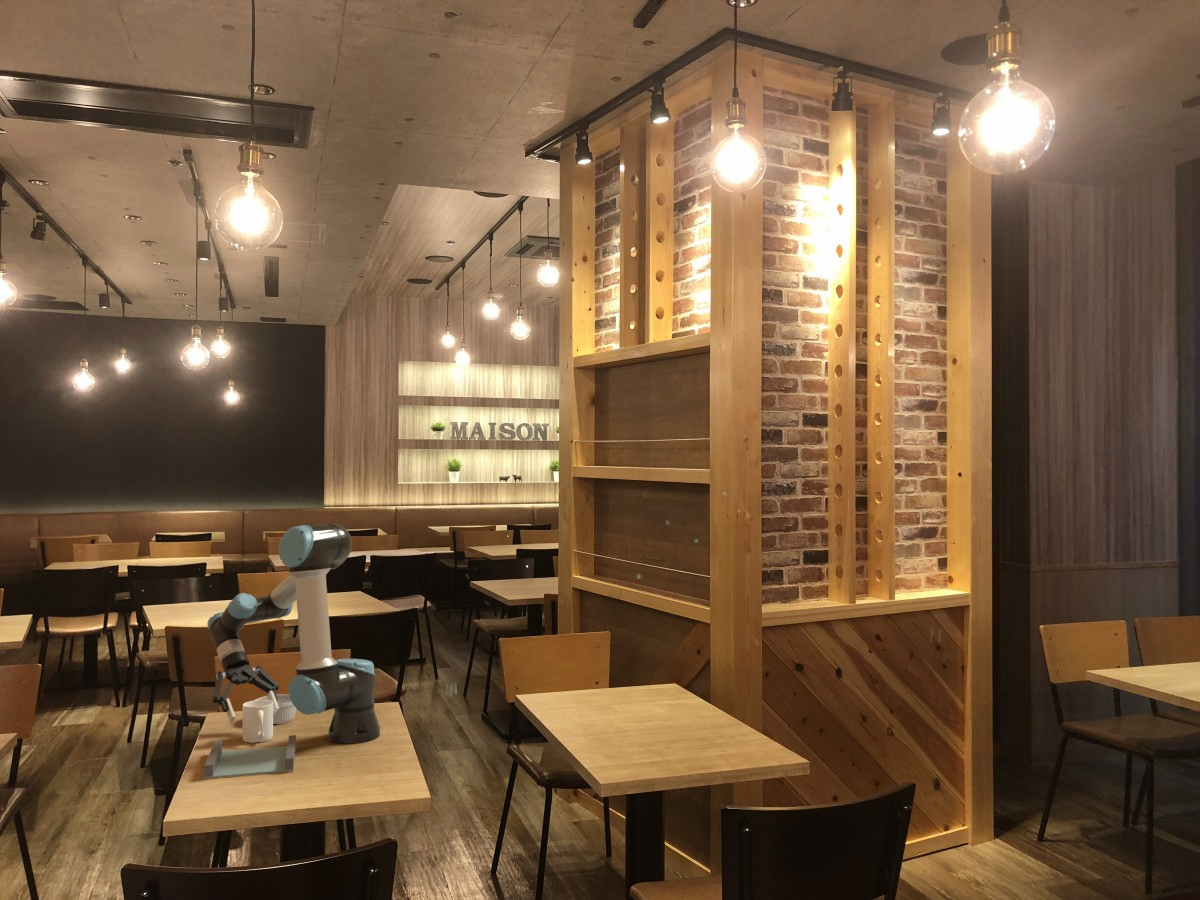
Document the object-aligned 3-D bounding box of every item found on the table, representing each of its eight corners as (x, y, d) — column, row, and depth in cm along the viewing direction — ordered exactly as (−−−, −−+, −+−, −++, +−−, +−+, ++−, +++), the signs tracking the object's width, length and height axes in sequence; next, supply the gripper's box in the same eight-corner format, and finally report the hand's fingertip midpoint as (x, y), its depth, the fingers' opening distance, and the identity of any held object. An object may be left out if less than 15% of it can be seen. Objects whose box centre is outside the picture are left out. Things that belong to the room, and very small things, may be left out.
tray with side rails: (214, 754, 264) (214, 741, 264) (296, 747, 270) (296, 735, 270) (204, 779, 242) (204, 765, 242) (293, 771, 249) (293, 758, 249)
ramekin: (253, 728, 289) (254, 706, 290) (253, 717, 302) (253, 696, 302) (298, 724, 294) (298, 702, 294) (296, 713, 306) (296, 692, 307)
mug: (245, 748, 269) (246, 711, 269) (240, 737, 280) (240, 701, 280) (276, 744, 273) (277, 707, 273) (270, 733, 284) (270, 698, 284)
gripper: (267, 658, 299) (289, 714, 288) (188, 671, 281) (209, 730, 270) (275, 644, 295) (298, 700, 285) (196, 656, 277) (217, 716, 267)
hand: (255, 715), depth 277 cm, fingers open, 13 cm apart
